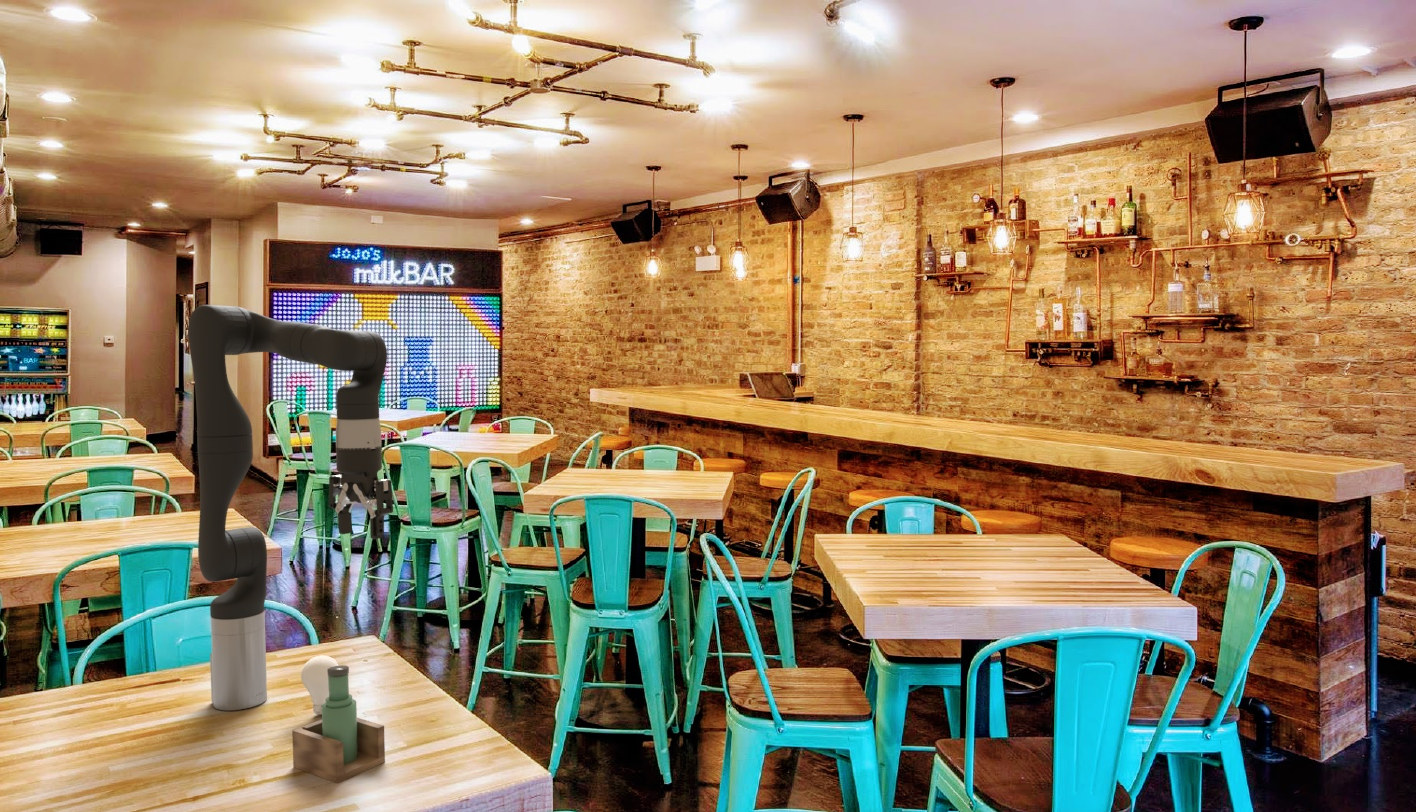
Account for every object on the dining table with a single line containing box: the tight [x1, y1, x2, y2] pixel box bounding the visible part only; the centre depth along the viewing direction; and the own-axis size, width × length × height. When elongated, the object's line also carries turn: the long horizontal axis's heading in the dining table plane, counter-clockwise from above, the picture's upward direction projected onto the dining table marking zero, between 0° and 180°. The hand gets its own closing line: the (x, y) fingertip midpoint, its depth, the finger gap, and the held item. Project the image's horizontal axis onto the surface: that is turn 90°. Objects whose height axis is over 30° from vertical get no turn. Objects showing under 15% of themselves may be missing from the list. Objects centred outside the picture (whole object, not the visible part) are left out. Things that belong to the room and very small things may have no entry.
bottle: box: [321, 664, 358, 765], centre depth 154 cm, size 5×5×15 cm
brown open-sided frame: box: [291, 717, 386, 784], centre depth 154 cm, size 11×9×6 cm
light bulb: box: [300, 655, 340, 717], centre depth 175 cm, size 7×7×11 cm
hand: (361, 536), depth 169 cm, fingers open, 8 cm apart
